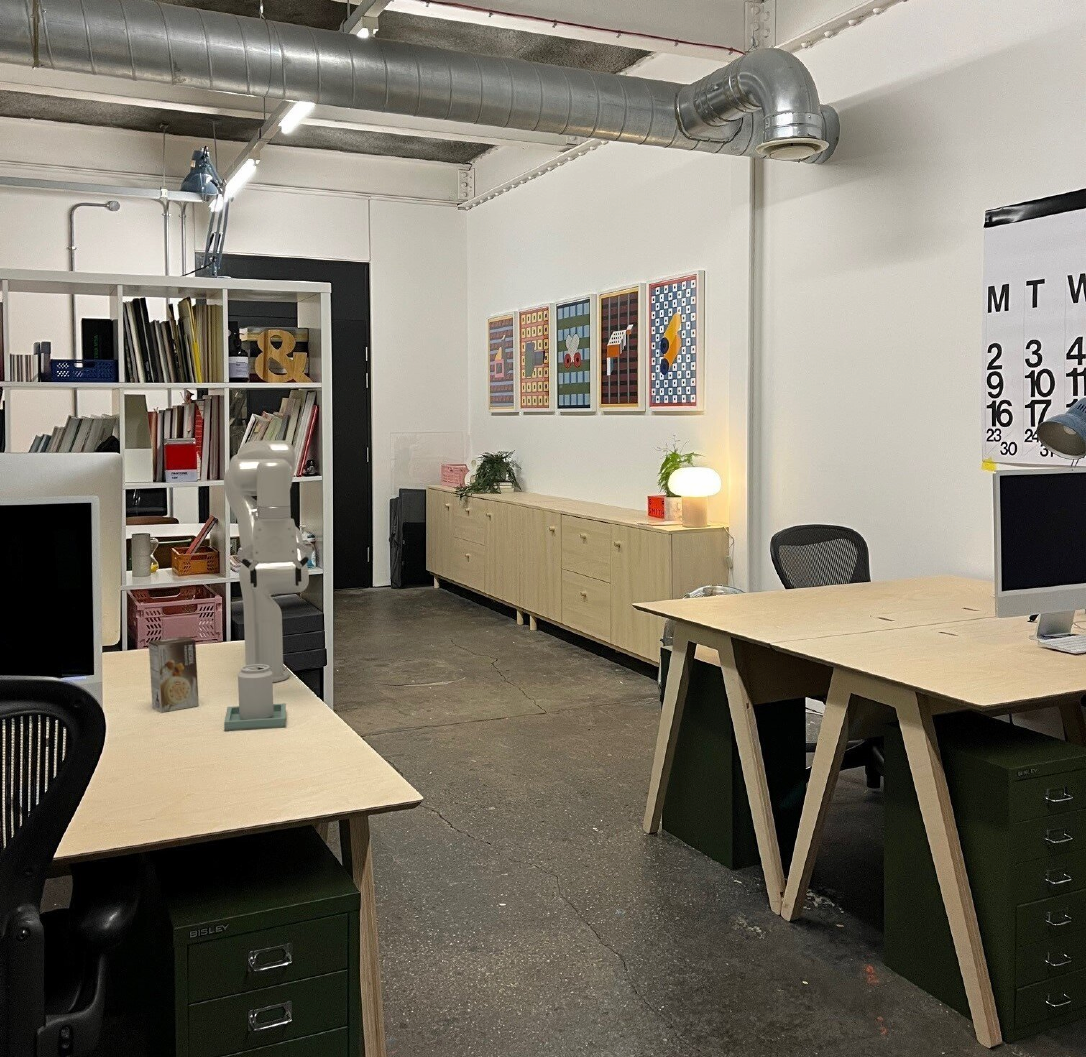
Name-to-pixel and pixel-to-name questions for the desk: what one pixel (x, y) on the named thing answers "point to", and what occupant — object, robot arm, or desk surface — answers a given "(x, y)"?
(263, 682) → the can
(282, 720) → the tray
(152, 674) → the coffee box
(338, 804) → the desk surface
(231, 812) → the desk surface
